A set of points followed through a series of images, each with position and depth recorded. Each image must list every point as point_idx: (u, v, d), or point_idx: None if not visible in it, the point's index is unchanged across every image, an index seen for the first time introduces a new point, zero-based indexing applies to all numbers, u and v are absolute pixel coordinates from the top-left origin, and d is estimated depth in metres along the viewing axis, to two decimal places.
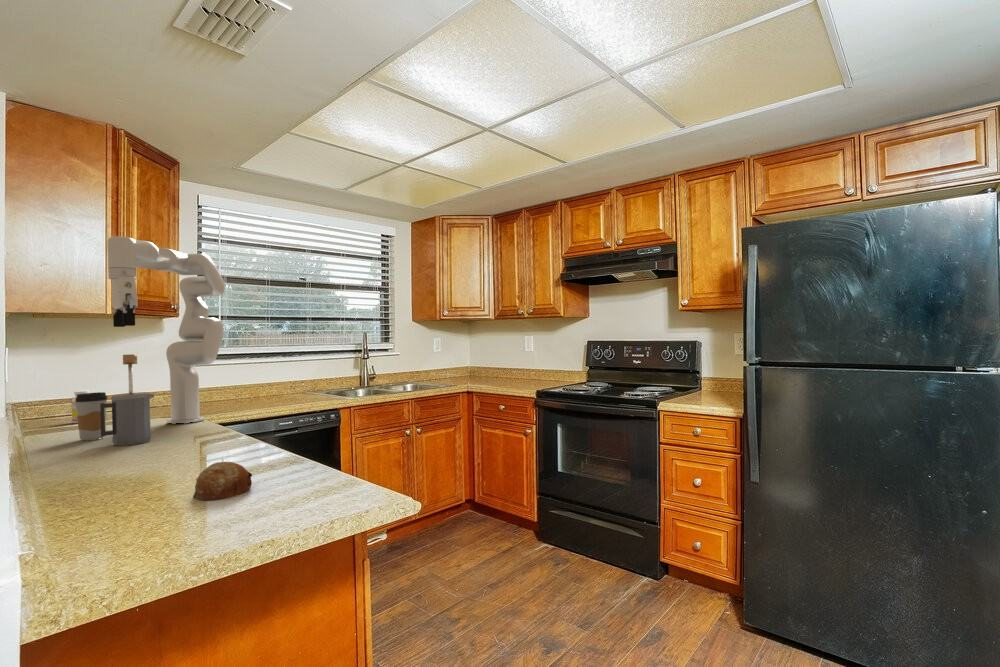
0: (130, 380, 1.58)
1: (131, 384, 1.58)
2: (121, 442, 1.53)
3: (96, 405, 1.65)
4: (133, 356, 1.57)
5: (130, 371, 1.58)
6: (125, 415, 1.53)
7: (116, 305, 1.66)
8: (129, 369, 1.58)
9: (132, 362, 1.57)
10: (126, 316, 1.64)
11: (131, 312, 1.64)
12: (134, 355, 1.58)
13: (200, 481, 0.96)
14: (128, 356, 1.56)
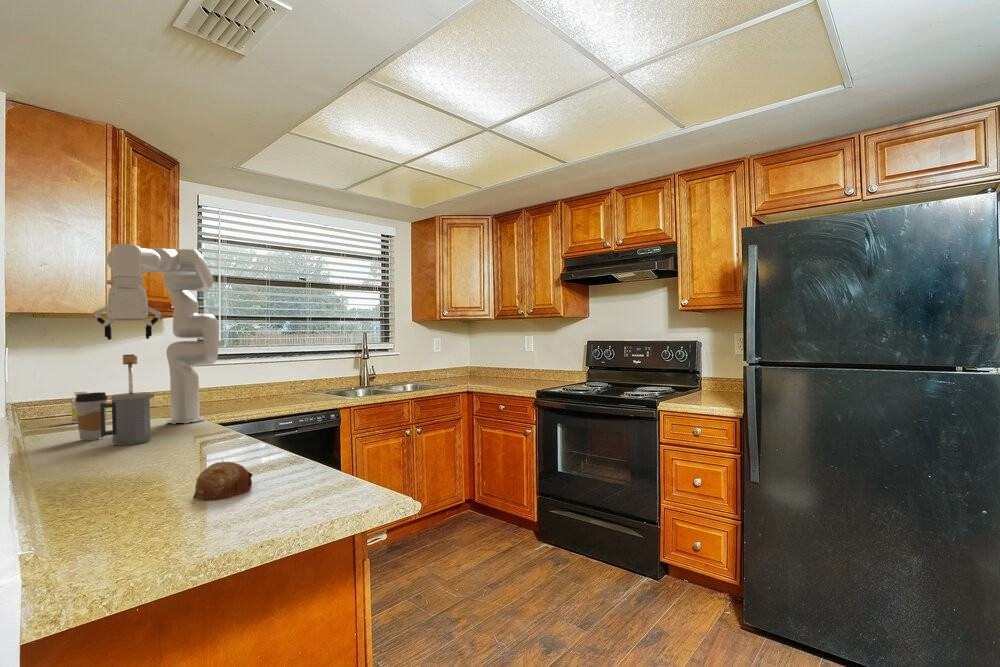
0: (130, 380, 1.58)
1: (131, 384, 1.58)
2: (121, 442, 1.53)
3: (96, 405, 1.65)
4: (133, 356, 1.57)
5: (130, 371, 1.58)
6: (125, 415, 1.53)
7: None
8: (129, 369, 1.58)
9: (132, 362, 1.57)
10: None
11: None
12: (134, 355, 1.58)
13: (200, 481, 0.96)
14: (128, 356, 1.56)
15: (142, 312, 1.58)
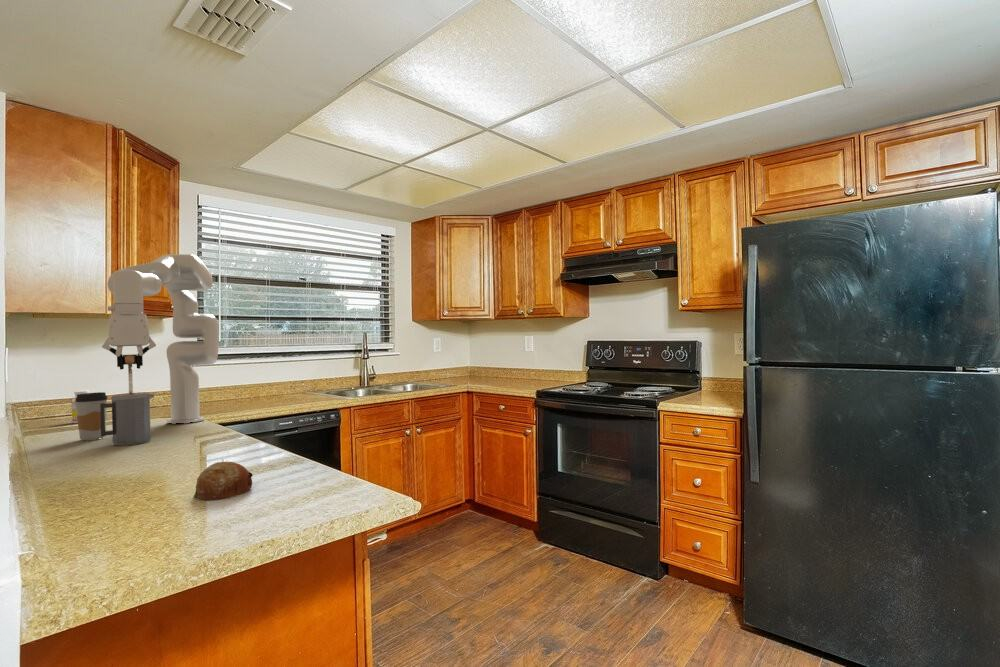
0: (130, 380, 1.58)
1: (131, 384, 1.58)
2: (121, 442, 1.53)
3: (96, 405, 1.65)
4: (133, 356, 1.57)
5: (130, 371, 1.58)
6: (125, 415, 1.53)
7: None
8: (129, 369, 1.58)
9: (132, 362, 1.57)
10: None
11: (117, 356, 1.56)
12: (134, 355, 1.58)
13: (201, 481, 0.96)
14: (128, 356, 1.56)
15: (143, 338, 1.58)
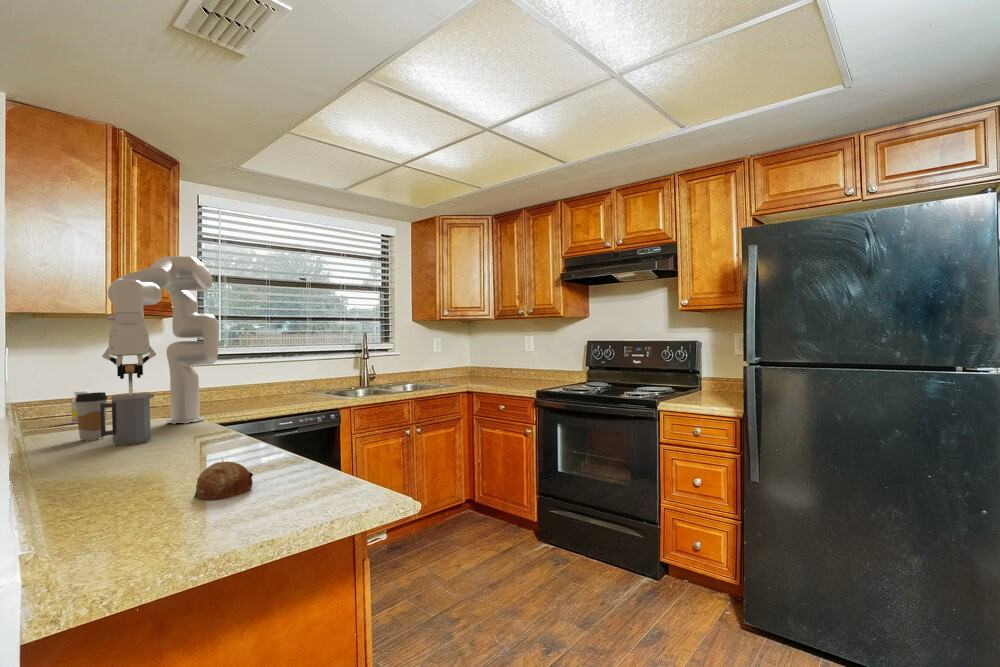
0: (130, 389, 1.58)
1: (131, 393, 1.58)
2: (121, 442, 1.53)
3: (96, 405, 1.65)
4: (133, 365, 1.57)
5: (130, 380, 1.58)
6: (125, 415, 1.53)
7: None
8: (129, 378, 1.58)
9: (132, 371, 1.57)
10: None
11: None
12: (134, 364, 1.58)
13: (201, 481, 0.96)
14: (128, 365, 1.56)
15: (143, 347, 1.58)
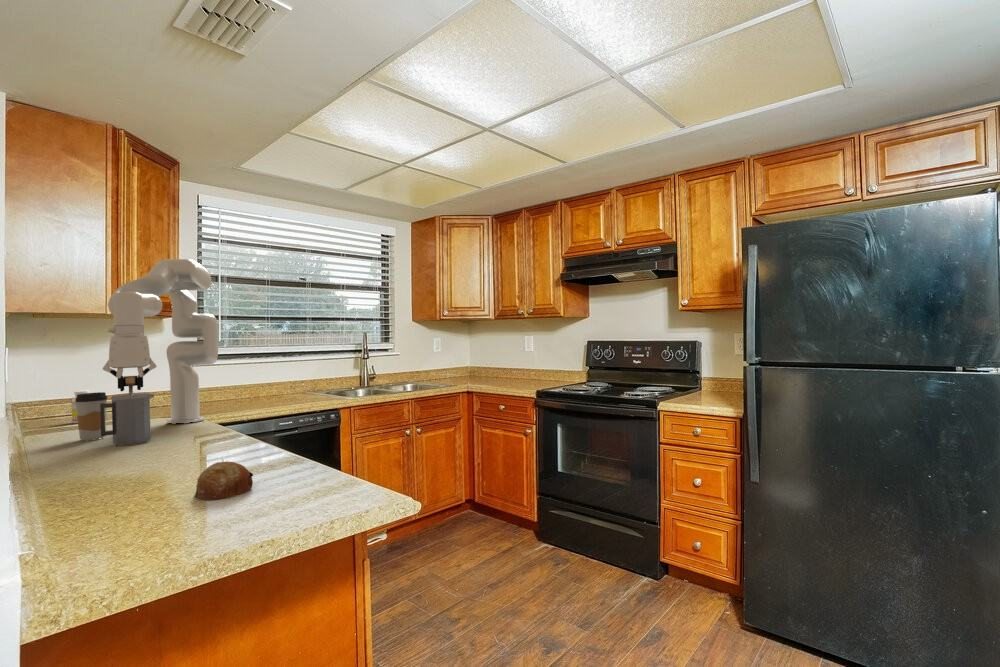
0: None
1: None
2: (121, 442, 1.53)
3: (96, 405, 1.65)
4: (134, 378, 1.57)
5: (130, 392, 1.58)
6: (125, 415, 1.53)
7: None
8: (130, 391, 1.58)
9: (133, 384, 1.57)
10: None
11: None
12: (135, 377, 1.58)
13: (201, 481, 0.97)
14: (129, 378, 1.56)
15: (144, 359, 1.58)
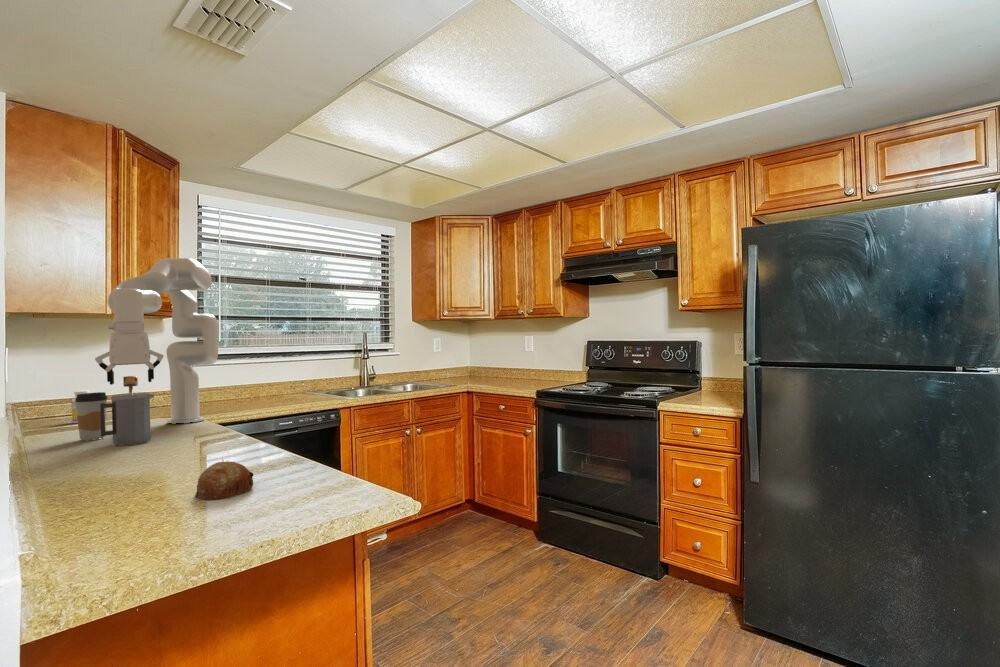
0: None
1: None
2: (121, 442, 1.53)
3: (96, 405, 1.65)
4: (134, 378, 1.57)
5: (130, 393, 1.58)
6: (125, 415, 1.53)
7: None
8: (130, 391, 1.58)
9: (133, 384, 1.57)
10: None
11: (106, 370, 1.55)
12: (135, 377, 1.58)
13: (202, 481, 0.97)
14: (129, 378, 1.56)
15: (144, 356, 1.58)
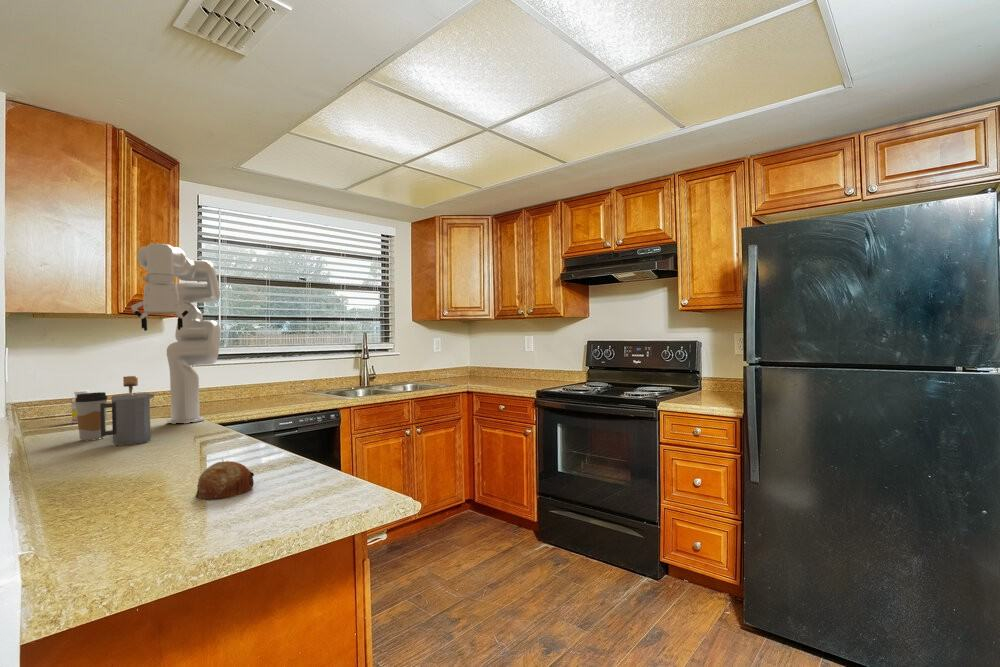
0: None
1: None
2: (121, 442, 1.53)
3: (96, 405, 1.65)
4: (134, 378, 1.57)
5: (130, 393, 1.58)
6: (125, 415, 1.53)
7: None
8: (130, 391, 1.58)
9: (133, 384, 1.57)
10: None
11: None
12: (135, 377, 1.58)
13: (202, 480, 0.97)
14: (129, 378, 1.56)
15: (174, 306, 1.74)
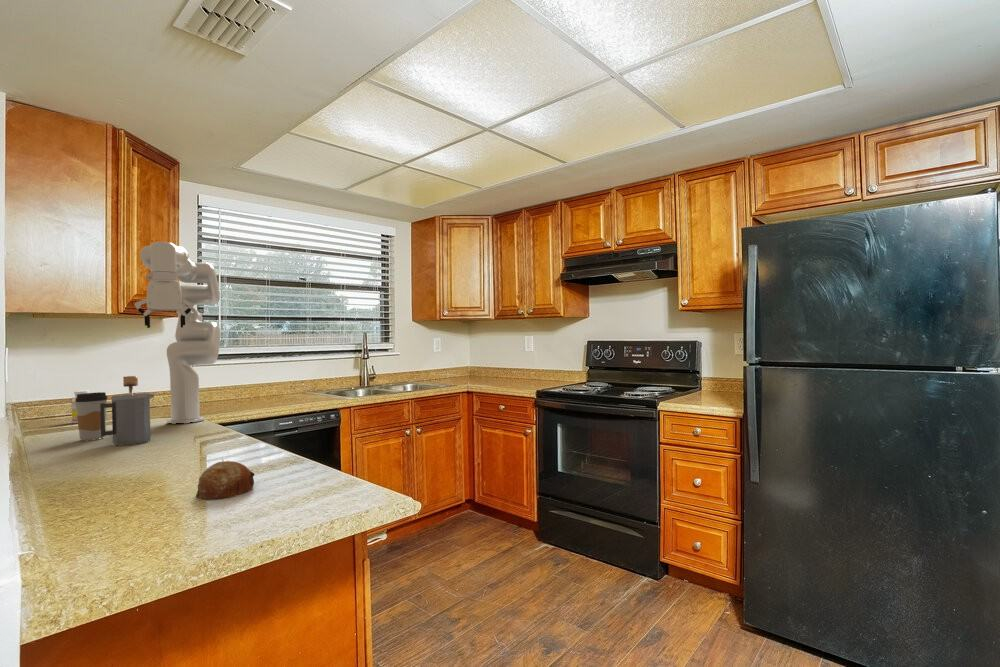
0: None
1: None
2: (121, 442, 1.53)
3: (96, 405, 1.65)
4: (134, 378, 1.57)
5: (130, 393, 1.58)
6: (125, 415, 1.53)
7: None
8: (130, 391, 1.58)
9: (133, 384, 1.57)
10: None
11: None
12: (135, 377, 1.58)
13: (203, 480, 0.97)
14: (129, 378, 1.56)
15: (177, 303, 1.75)
